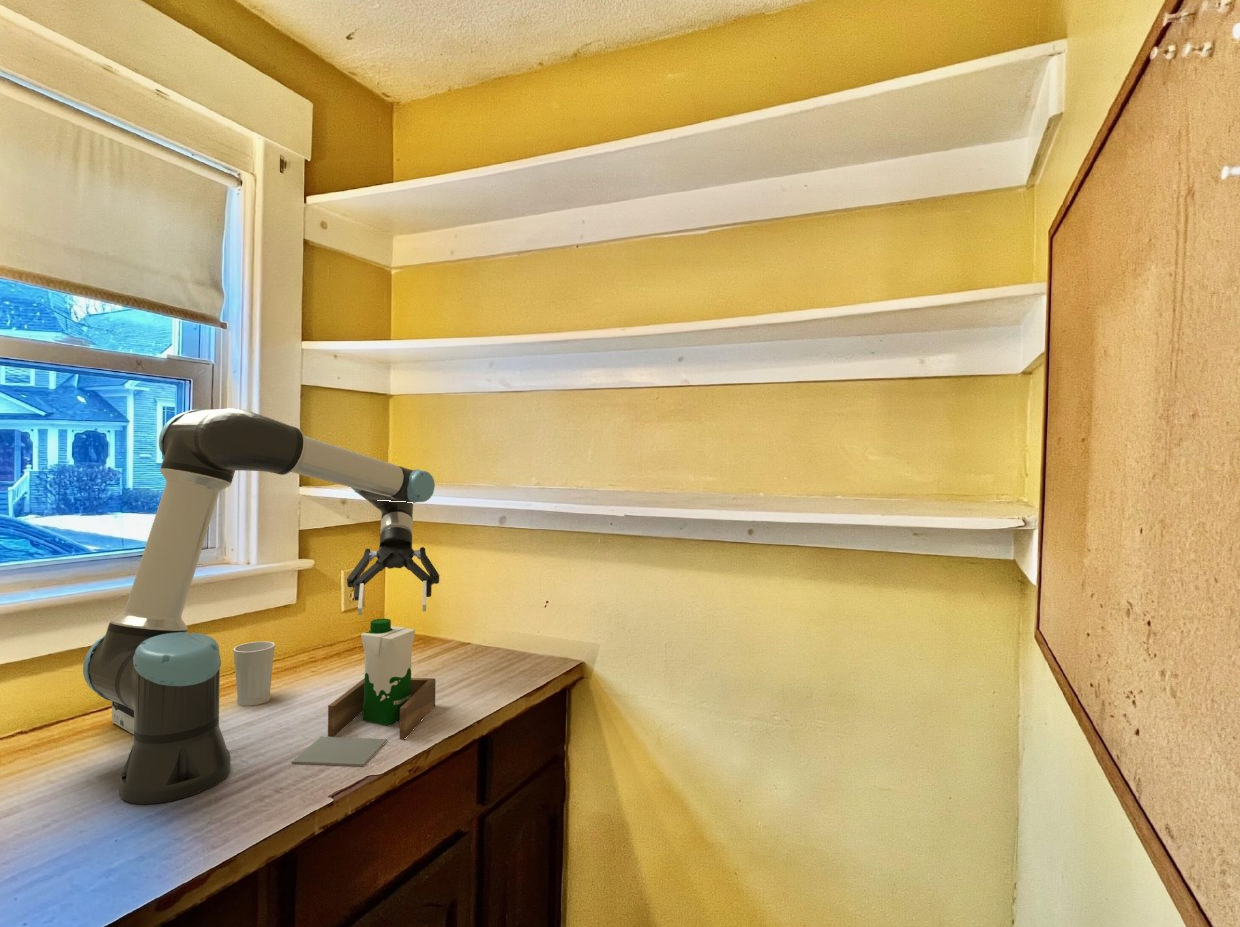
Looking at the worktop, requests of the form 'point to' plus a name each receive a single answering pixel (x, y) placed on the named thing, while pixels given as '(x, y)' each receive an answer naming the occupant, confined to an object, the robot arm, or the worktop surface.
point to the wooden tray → (410, 712)
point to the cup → (253, 672)
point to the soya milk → (386, 671)
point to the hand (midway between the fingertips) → (392, 609)
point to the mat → (340, 751)
